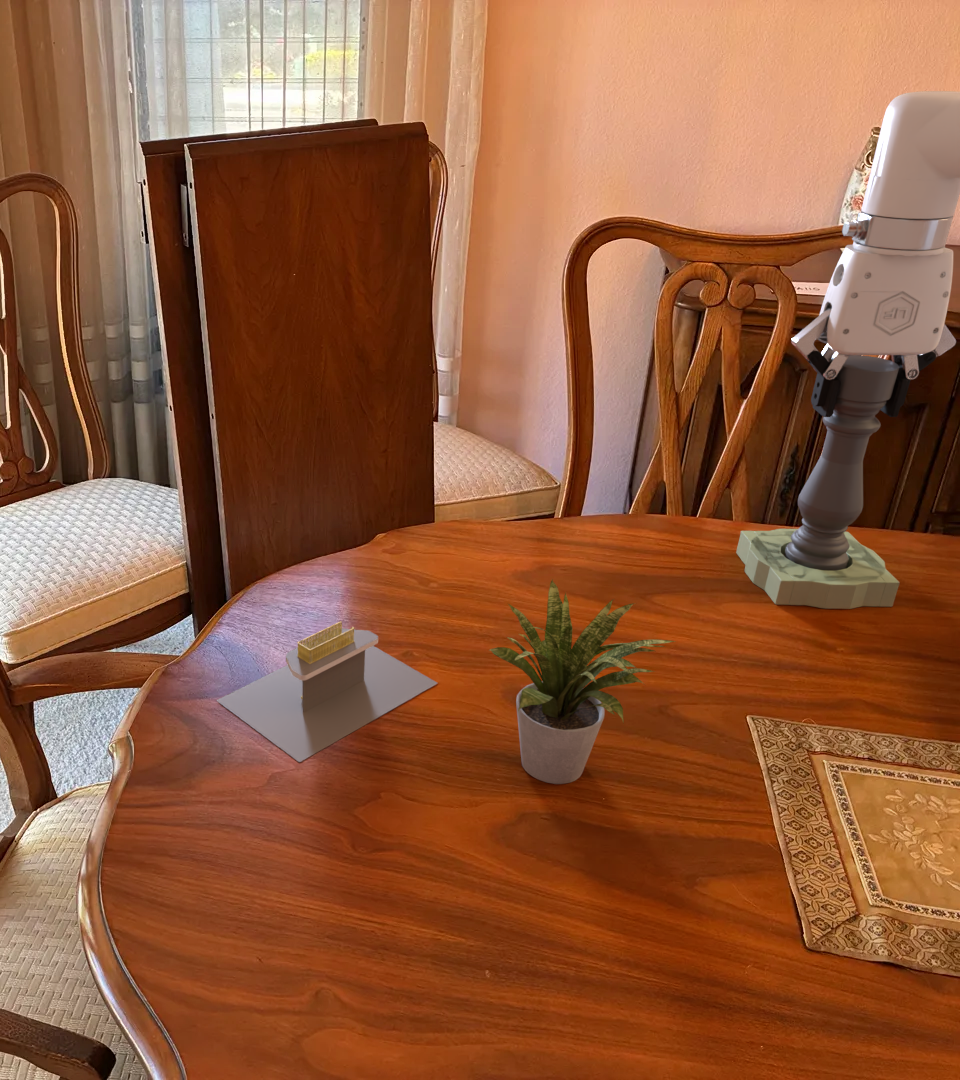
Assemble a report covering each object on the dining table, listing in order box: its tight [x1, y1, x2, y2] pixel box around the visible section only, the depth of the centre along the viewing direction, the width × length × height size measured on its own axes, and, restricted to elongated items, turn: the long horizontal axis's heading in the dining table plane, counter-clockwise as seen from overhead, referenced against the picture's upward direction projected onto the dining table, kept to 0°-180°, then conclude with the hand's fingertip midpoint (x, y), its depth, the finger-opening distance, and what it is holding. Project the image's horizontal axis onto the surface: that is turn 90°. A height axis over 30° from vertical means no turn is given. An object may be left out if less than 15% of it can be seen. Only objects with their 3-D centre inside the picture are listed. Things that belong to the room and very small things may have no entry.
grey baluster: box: [784, 355, 899, 571], centre depth 107 cm, size 6×6×25 cm
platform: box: [216, 620, 438, 763], centre depth 95 cm, size 12×18×7 cm, turn 129°
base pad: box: [735, 528, 900, 610], centre depth 112 cm, size 13×13×3 cm
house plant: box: [488, 578, 677, 785], centre depth 81 cm, size 14×14×16 cm
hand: (854, 411), depth 103 cm, fingers closed on grey baluster, 5 cm apart
